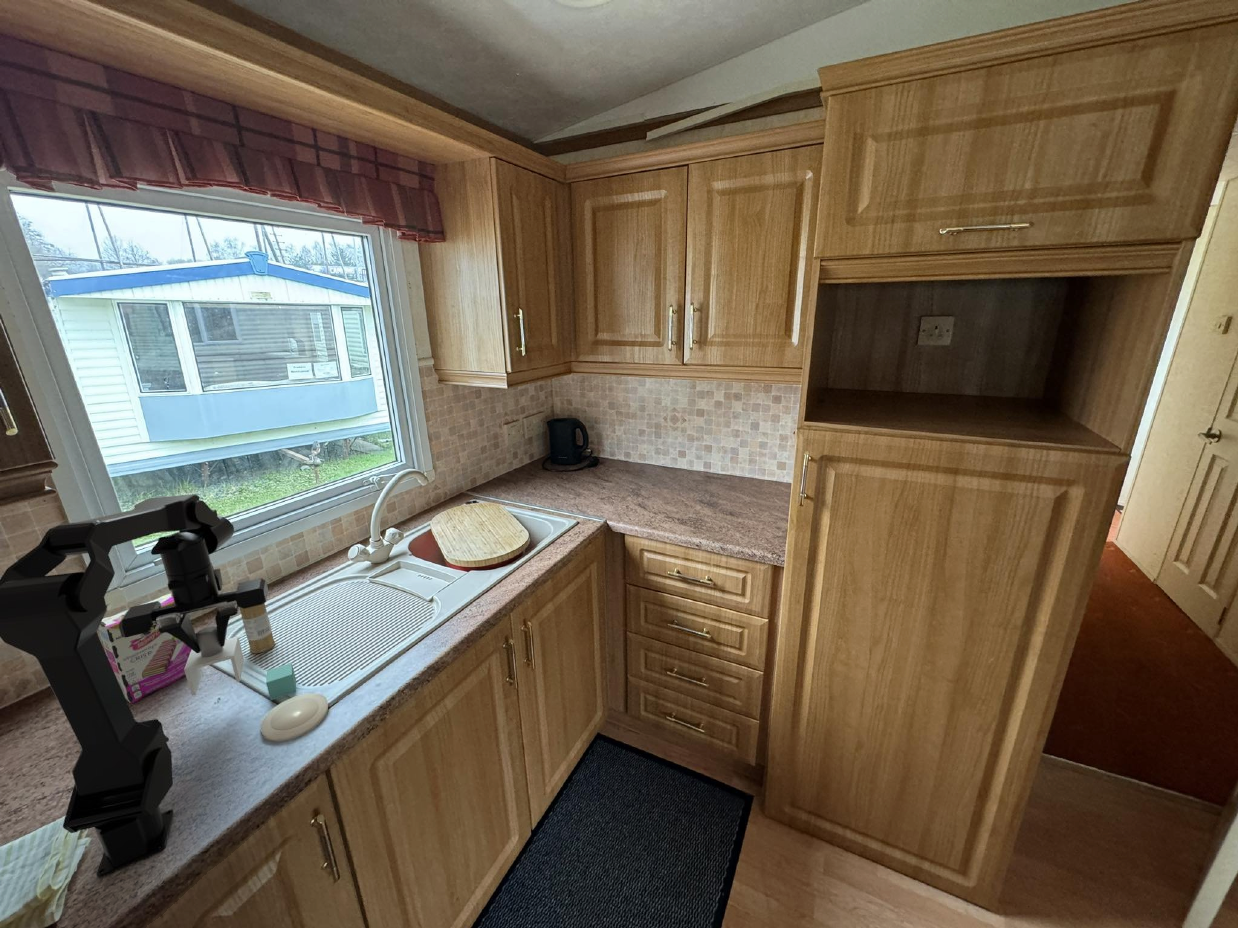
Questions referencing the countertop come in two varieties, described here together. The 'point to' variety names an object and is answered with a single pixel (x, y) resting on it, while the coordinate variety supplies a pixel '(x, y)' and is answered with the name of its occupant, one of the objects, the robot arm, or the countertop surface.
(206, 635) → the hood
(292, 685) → the block
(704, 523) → the countertop surface
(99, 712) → the robot arm
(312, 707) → the saucer
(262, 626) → the sprinkles bottle
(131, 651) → the candy bar box
